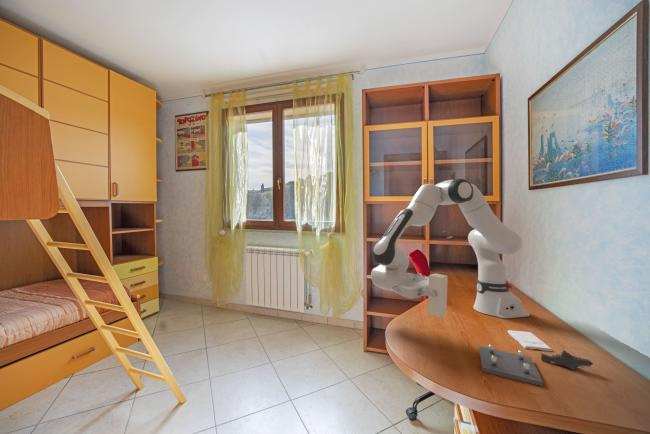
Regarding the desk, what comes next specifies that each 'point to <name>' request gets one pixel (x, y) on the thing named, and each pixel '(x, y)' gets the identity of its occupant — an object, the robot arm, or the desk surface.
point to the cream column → (438, 295)
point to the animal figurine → (567, 360)
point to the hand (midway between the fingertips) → (440, 292)
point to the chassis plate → (509, 365)
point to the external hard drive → (529, 340)
